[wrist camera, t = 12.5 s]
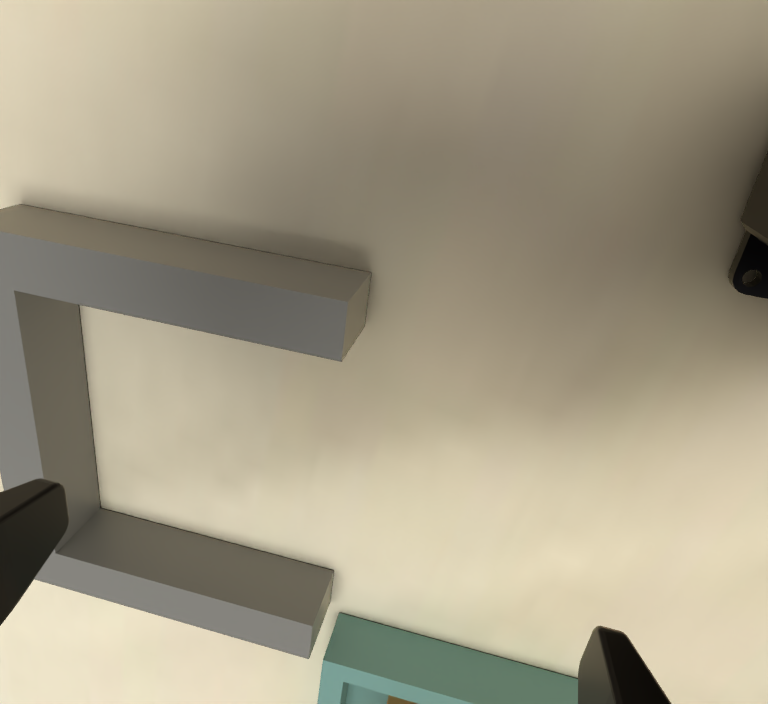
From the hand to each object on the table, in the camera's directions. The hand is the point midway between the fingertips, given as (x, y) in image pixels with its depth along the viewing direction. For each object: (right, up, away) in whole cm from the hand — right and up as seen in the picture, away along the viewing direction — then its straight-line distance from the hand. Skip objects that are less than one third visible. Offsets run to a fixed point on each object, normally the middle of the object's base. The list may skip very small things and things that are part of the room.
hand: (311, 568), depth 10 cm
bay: (-7, +1, +15) cm, 16 cm away
